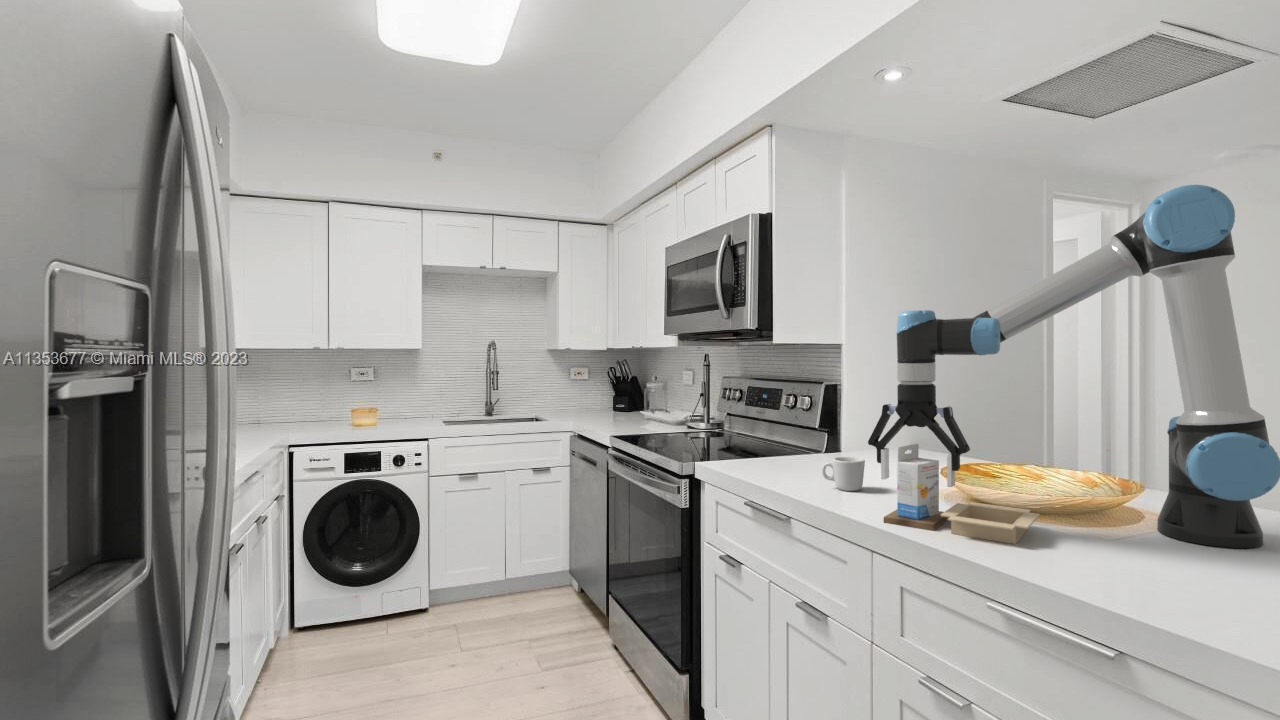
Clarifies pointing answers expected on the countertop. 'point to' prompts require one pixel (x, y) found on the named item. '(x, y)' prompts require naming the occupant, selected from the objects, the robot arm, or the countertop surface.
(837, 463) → the cup
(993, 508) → the beige tray
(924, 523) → the walnut board
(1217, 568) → the countertop surface
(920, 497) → the ink box
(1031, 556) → the countertop surface
